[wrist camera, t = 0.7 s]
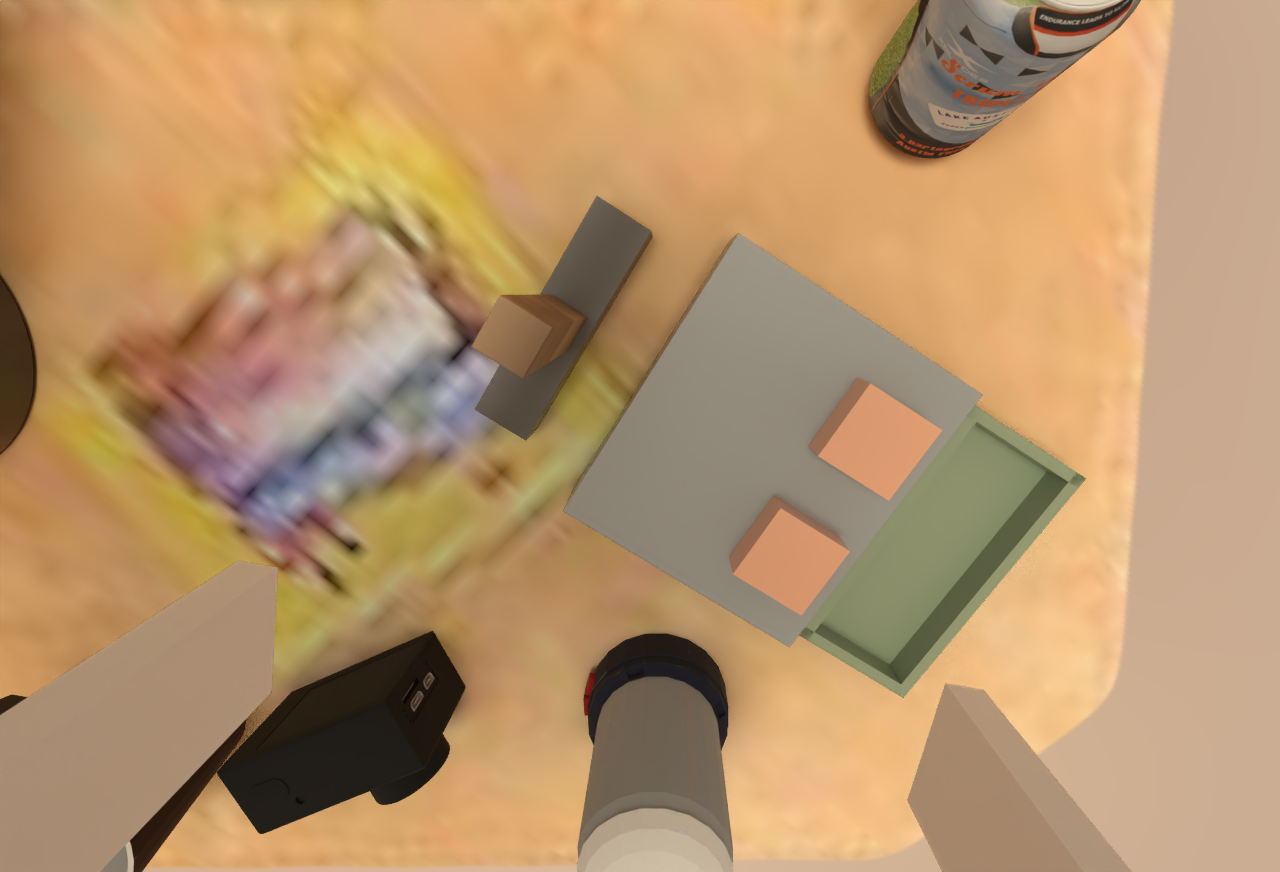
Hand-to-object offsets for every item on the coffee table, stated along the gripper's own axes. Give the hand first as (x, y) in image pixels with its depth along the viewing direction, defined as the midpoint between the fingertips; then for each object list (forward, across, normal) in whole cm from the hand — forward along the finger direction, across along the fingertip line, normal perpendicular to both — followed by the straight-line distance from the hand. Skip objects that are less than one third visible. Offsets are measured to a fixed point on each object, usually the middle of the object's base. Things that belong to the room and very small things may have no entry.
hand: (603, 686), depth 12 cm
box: (+23, +17, -3) cm, 29 cm away
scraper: (+23, -5, +5) cm, 24 cm away
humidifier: (+23, +4, -16) cm, 28 cm away
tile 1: (+20, +8, -4) cm, 22 cm away
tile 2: (+20, +11, +3) cm, 23 cm away
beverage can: (+23, +11, +19) cm, 32 cm away
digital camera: (+24, -13, -20) cm, 33 cm away
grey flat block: (+23, +6, +1) cm, 24 cm away
